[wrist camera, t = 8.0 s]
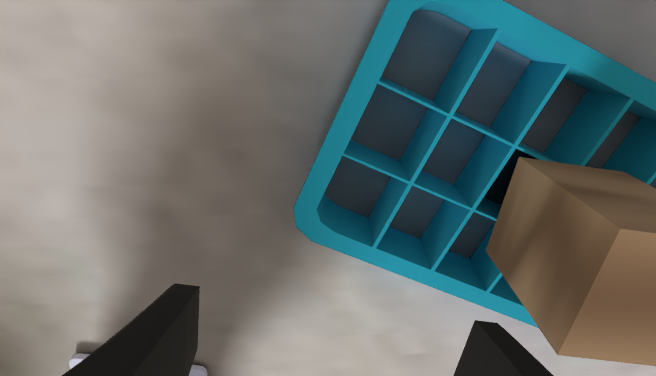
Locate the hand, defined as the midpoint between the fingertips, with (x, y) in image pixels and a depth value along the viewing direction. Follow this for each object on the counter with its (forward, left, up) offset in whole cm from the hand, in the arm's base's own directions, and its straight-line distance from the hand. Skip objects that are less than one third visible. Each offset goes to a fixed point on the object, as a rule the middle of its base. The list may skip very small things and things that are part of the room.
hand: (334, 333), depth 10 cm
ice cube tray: (+2, -9, -11) cm, 14 cm away
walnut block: (+1, -9, -7) cm, 12 cm away
